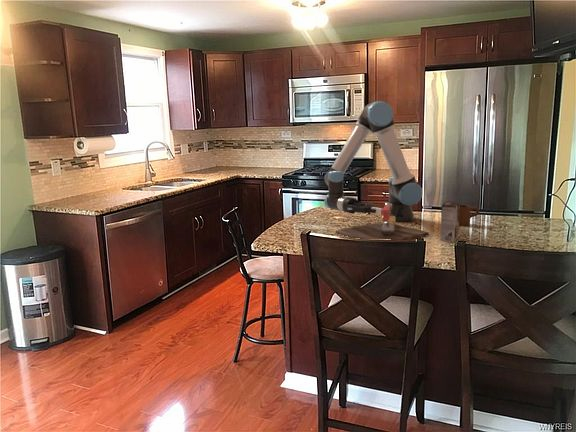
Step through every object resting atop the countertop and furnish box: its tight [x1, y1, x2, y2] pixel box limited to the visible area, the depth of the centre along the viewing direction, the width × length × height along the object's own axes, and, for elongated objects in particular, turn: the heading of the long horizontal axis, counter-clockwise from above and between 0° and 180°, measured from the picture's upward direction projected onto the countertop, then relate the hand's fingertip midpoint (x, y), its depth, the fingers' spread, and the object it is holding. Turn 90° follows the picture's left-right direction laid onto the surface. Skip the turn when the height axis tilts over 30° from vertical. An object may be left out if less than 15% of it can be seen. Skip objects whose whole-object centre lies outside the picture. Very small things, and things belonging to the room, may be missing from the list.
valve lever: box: [382, 202, 392, 220], centre depth 210 cm, size 22×3×4 cm, turn 165°
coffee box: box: [439, 201, 461, 243], centre depth 206 cm, size 9×6×16 cm
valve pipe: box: [381, 214, 396, 236], centre depth 220 cm, size 23×6×10 cm, turn 167°
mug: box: [459, 204, 480, 227], centre depth 232 cm, size 12×8×9 cm, turn 82°
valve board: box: [335, 221, 430, 241], centre depth 219 cm, size 31×30×2 cm
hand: (382, 212), depth 206 cm, fingers closed
